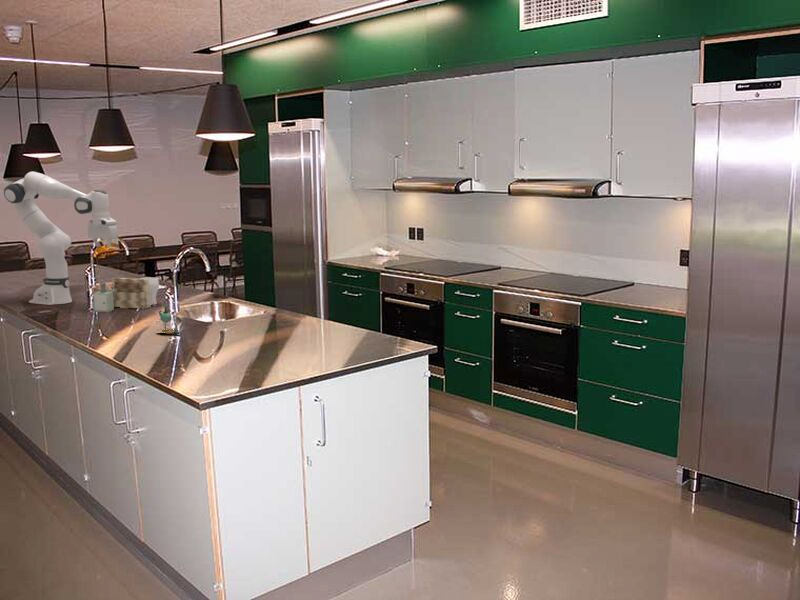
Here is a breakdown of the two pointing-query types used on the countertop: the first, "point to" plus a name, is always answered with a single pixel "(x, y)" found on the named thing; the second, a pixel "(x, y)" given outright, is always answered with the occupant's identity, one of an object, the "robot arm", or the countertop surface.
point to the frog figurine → (166, 318)
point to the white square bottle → (103, 299)
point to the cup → (152, 289)
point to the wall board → (130, 293)
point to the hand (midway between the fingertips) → (102, 246)
